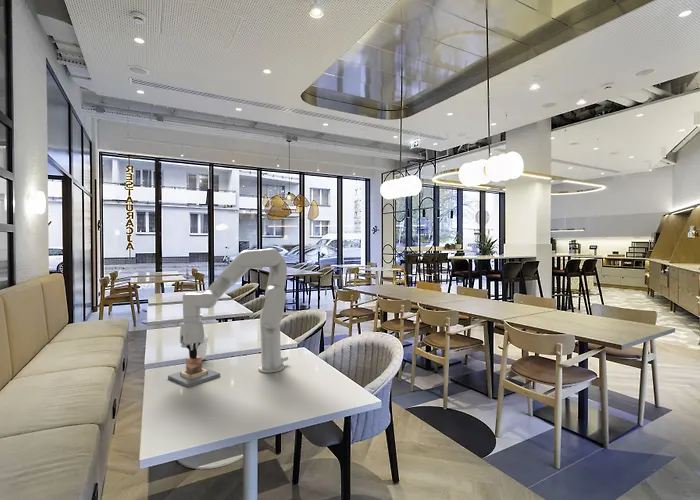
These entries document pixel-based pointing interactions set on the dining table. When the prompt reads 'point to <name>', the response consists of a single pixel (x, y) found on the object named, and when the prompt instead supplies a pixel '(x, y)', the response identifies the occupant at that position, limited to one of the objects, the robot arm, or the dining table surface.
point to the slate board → (193, 377)
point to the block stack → (193, 365)
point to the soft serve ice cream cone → (202, 348)
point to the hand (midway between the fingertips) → (193, 357)
